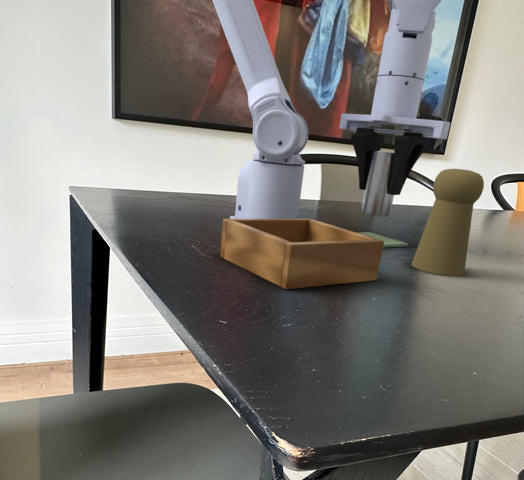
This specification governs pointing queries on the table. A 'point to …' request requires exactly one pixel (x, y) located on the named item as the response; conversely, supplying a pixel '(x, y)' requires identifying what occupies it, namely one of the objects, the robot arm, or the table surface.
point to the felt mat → (386, 240)
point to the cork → (449, 223)
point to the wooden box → (300, 251)
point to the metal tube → (378, 184)
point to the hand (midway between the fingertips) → (379, 192)
